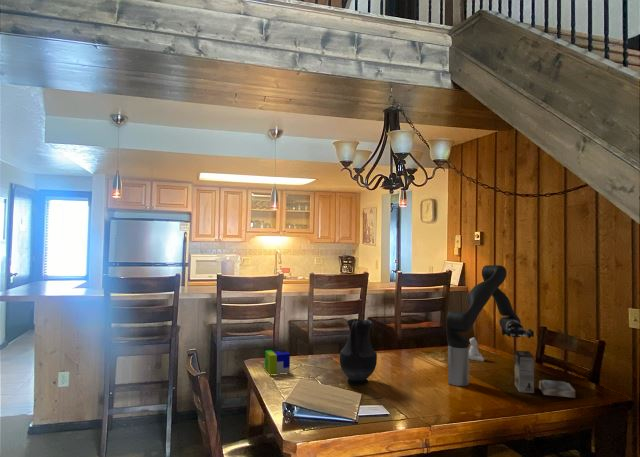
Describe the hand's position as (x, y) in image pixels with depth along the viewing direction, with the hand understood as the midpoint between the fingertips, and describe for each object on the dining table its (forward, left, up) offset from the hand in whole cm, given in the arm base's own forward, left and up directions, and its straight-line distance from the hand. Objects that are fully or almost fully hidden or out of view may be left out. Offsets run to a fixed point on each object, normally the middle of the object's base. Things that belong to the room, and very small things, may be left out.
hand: (519, 335), depth 204 cm
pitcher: (-73, -26, -22) cm, 81 cm away
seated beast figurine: (-18, +33, -22) cm, 43 cm away
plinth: (+13, -12, -21) cm, 28 cm away
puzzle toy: (-115, -21, -22) cm, 119 cm away
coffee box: (0, -12, -22) cm, 25 cm away
